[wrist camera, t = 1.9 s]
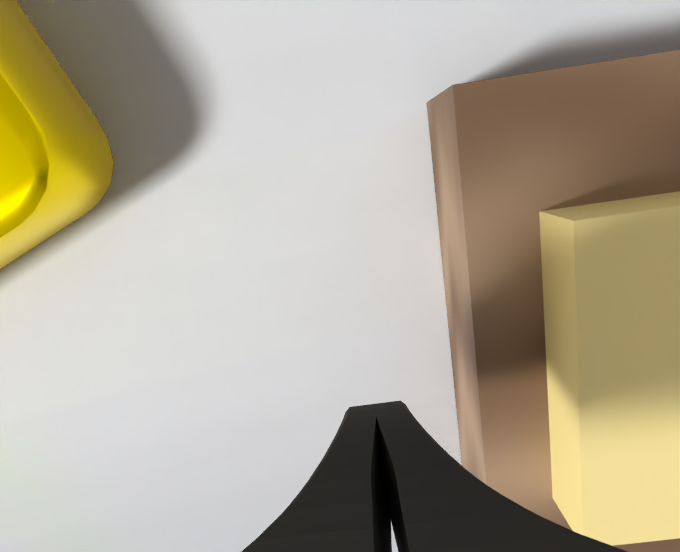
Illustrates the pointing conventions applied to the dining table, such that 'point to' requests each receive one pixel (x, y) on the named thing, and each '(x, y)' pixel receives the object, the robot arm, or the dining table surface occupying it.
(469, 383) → the plate
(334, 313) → the dining table surface
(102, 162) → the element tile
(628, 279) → the yellow block
